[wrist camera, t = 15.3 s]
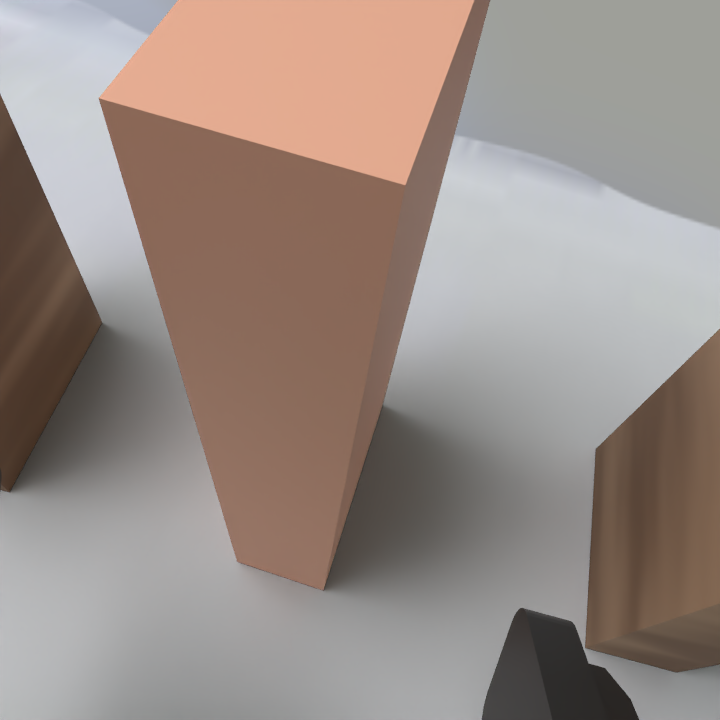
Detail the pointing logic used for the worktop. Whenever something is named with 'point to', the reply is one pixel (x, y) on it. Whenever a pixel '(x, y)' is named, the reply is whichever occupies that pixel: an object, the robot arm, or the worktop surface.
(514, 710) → the robot arm
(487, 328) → the worktop surface
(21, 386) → the wood grain beam
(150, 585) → the worktop surface
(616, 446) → the middle walnut tile
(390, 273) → the terracotta tile
